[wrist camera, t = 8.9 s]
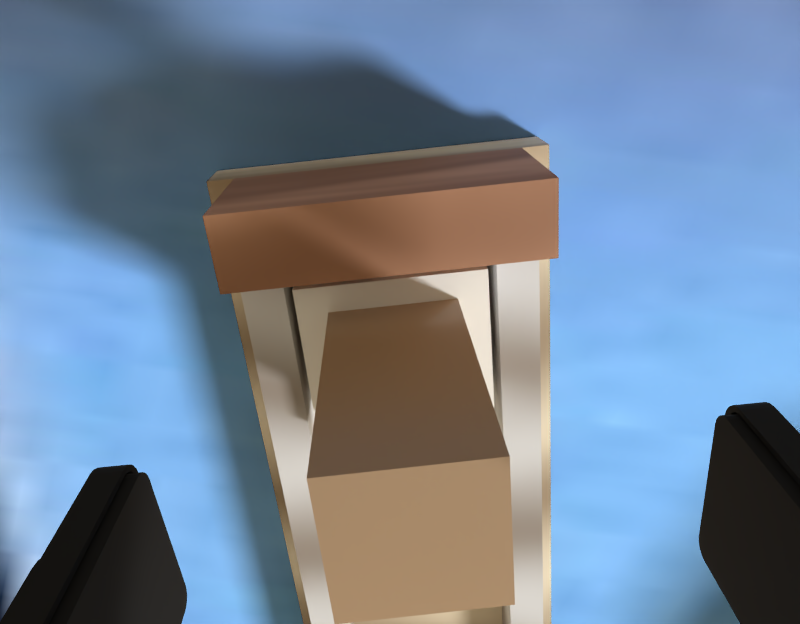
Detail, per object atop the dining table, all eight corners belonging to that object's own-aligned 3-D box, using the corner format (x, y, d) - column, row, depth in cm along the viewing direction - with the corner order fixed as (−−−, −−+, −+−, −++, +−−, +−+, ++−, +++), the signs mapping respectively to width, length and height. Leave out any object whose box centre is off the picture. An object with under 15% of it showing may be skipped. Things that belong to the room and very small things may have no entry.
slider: (302, 253, 20) (249, 447, 11) (471, 235, 20) (558, 413, 11) (325, 393, 22) (297, 656, 13) (479, 377, 22) (558, 628, 13)
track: (216, 170, 20) (168, 219, 15) (536, 136, 20) (592, 173, 15) (327, 690, 30) (319, 823, 25) (543, 666, 30) (578, 795, 25)
